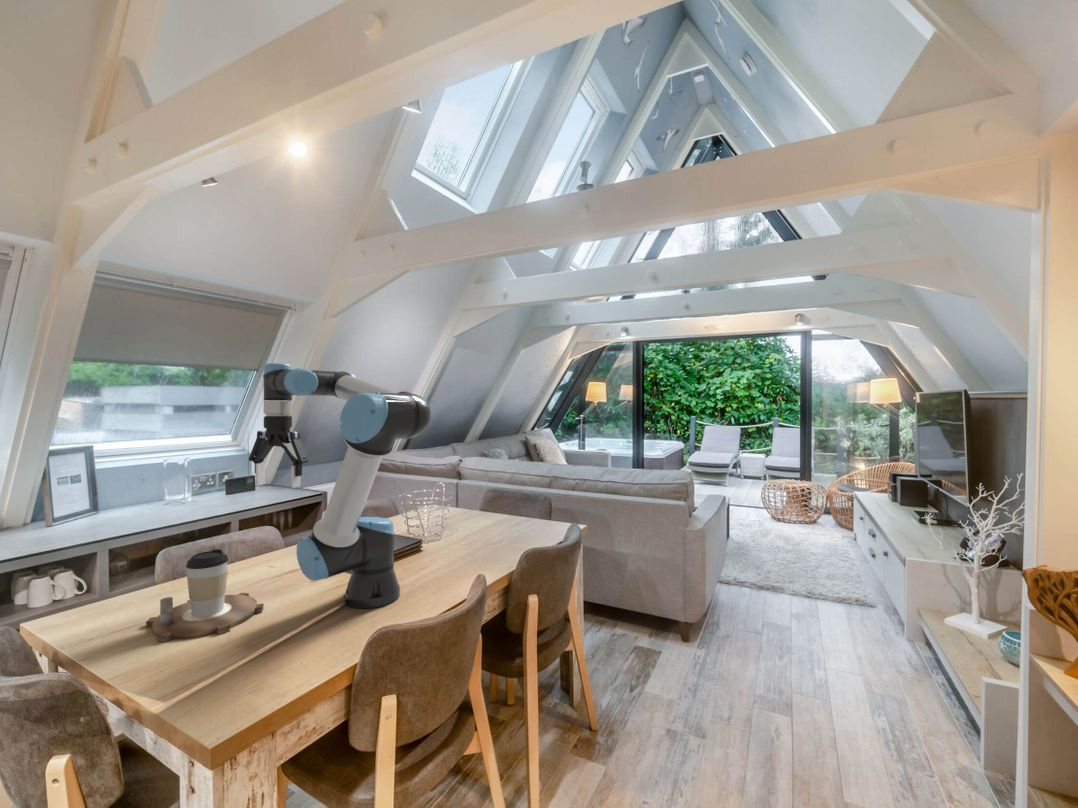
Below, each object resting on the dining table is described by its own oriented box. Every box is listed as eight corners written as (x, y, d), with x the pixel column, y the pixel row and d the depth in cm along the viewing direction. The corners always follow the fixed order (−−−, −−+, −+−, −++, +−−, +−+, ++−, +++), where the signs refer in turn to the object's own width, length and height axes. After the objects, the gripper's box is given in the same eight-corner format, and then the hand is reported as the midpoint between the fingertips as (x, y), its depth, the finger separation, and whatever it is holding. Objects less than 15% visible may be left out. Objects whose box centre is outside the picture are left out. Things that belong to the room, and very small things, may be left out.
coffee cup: (207, 620, 118) (206, 560, 118) (176, 617, 120) (176, 557, 120) (237, 605, 127) (237, 549, 127) (208, 602, 129) (208, 546, 129)
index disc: (239, 591, 140) (239, 566, 140) (274, 616, 124) (274, 587, 124) (139, 618, 123) (139, 589, 123) (165, 651, 107) (165, 618, 107)
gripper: (321, 415, 144) (320, 486, 144) (256, 414, 151) (257, 481, 151) (301, 416, 136) (301, 490, 137) (235, 415, 144) (235, 485, 144)
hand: (278, 486), depth 144 cm, fingers open, 13 cm apart
